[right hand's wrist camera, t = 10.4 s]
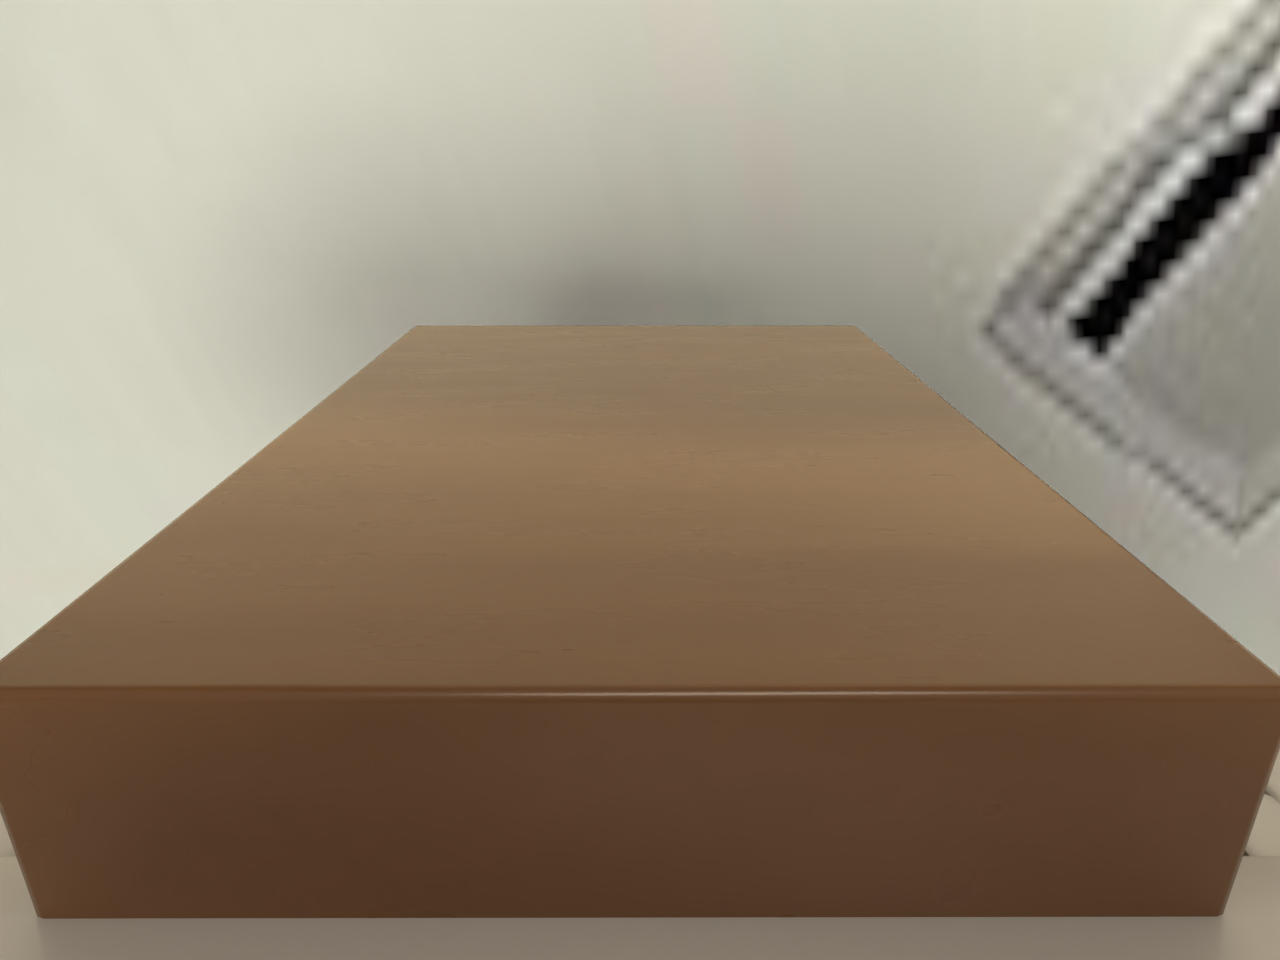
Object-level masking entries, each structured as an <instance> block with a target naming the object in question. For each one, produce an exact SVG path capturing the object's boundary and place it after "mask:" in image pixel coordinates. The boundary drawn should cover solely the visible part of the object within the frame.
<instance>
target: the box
mask: <svg viewBox="0 0 1280 960" xmlns="http://www.w3.org/2000/svg"><path fill="white" fill-rule="evenodd" d="M1279 749H1280V676H1279V675H1278V674H1277V673H1275V672H1274V671H1273V670H1272V669H1270V668H1269V667H1268V666H1267V665H1266V664H1264V663H1263V662H1262V661H1261V660H1260V659H1258V658H1257V657H1256V656H1255V655H1253V654H1252V653H1251V652H1250V651H1249V650H1247V649H1246V648H1245V647H1244V646H1243V645H1241V644H1240V643H1239V642H1238V641H1236V640H1235V639H1234V638H1233V637H1232V636H1230V635H1229V634H1228V633H1227V632H1226V631H1224V630H1223V629H1222V628H1221V627H1219V626H1218V625H1217V624H1216V623H1215V622H1213V621H1212V620H1211V619H1210V618H1209V617H1207V616H1206V615H1205V614H1204V613H1202V612H1201V611H1200V610H1199V609H1198V608H1196V607H1195V606H1194V605H1193V604H1192V603H1190V602H1189V601H1188V600H1187V599H1185V598H1184V597H1183V596H1182V595H1181V594H1179V593H1178V592H1177V591H1176V590H1175V589H1173V588H1172V587H1171V586H1170V585H1168V584H1167V583H1166V582H1165V581H1164V580H1162V579H1161V578H1160V577H1159V576H1158V575H1156V574H1155V573H1154V572H1153V571H1151V570H1150V569H1149V568H1148V567H1147V566H1145V565H1144V564H1143V563H1142V562H1141V561H1139V560H1138V559H1137V558H1136V557H1134V556H1133V555H1132V554H1131V553H1130V552H1128V551H1127V550H1126V549H1125V548H1124V547H1122V546H1121V545H1120V544H1119V543H1117V542H1116V541H1115V540H1114V539H1113V538H1111V537H1110V536H1109V535H1108V534H1107V533H1105V532H1104V531H1103V530H1102V529H1100V528H1099V527H1098V526H1097V525H1096V524H1094V523H1093V522H1092V521H1091V520H1090V519H1088V518H1087V517H1086V516H1085V515H1083V514H1082V513H1081V512H1080V511H1079V510H1077V509H1076V508H1075V507H1074V506H1073V505H1071V504H1070V503H1069V502H1068V501H1066V500H1065V499H1064V498H1063V497H1062V496H1060V495H1059V494H1058V493H1057V492H1056V491H1054V490H1053V489H1052V488H1051V487H1049V486H1048V485H1047V484H1046V483H1045V482H1043V481H1042V480H1041V479H1040V478H1039V477H1037V476H1036V475H1035V474H1034V473H1032V472H1031V471H1030V470H1029V469H1028V468H1026V467H1025V466H1024V465H1023V464H1022V463H1020V462H1019V461H1018V460H1017V459H1015V458H1014V457H1013V456H1012V455H1011V454H1009V453H1008V452H1007V451H1006V450H1005V449H1003V448H1002V447H1001V446H1000V445H998V444H997V443H996V442H995V441H994V440H992V439H991V438H990V437H989V436H988V435H986V434H985V433H984V432H983V431H981V430H980V429H979V428H978V427H977V426H975V425H974V424H973V423H972V422H971V421H969V420H968V419H967V418H966V417H964V416H963V415H962V414H961V413H960V412H958V411H957V410H956V409H955V408H954V407H952V406H951V405H950V404H949V403H947V402H946V401H945V400H944V399H943V398H941V397H940V396H939V395H938V394H937V393H935V392H934V391H933V390H932V389H930V388H929V387H928V386H927V385H926V384H924V383H923V382H922V381H921V380H920V379H918V378H917V377H916V376H915V375H913V374H912V373H911V372H910V371H909V370H907V369H906V368H905V367H904V366H903V365H901V364H900V363H899V362H898V361H896V360H895V359H894V358H893V357H892V356H890V355H889V354H888V353H887V352H886V351H884V350H883V349H882V348H881V347H879V346H878V345H877V344H876V343H875V342H873V341H872V340H871V339H870V338H869V337H867V336H866V335H865V334H864V333H862V332H861V331H860V330H859V329H858V328H856V327H854V326H416V327H414V328H413V329H411V330H410V331H409V332H408V333H407V334H405V335H404V336H403V337H402V338H400V339H399V340H398V341H397V342H395V343H394V344H393V345H392V346H390V347H389V348H388V349H387V350H385V351H384V352H383V353H382V354H380V355H379V356H378V357H377V358H375V359H374V360H373V361H372V362H370V363H369V364H368V365H367V366H365V367H364V368H363V369H362V370H361V371H359V372H358V373H357V374H356V375H354V376H353V377H352V378H351V379H349V380H348V381H347V382H346V383H344V384H343V385H342V386H341V387H339V388H338V389H337V390H336V391H334V392H333V393H332V394H331V395H329V396H328V397H327V398H326V399H324V400H323V401H322V402H321V403H319V404H318V405H317V406H316V407H315V408H313V409H312V410H311V411H310V412H308V413H307V414H306V415H305V416H303V417H302V418H301V419H300V420H298V421H297V422H296V423H295V424H293V425H292V426H291V427H290V428H288V429H287V430H286V431H285V432H283V433H282V434H281V435H280V436H278V437H277V438H276V439H275V440H273V441H272V442H271V443H270V444H268V445H267V446H266V447H265V448H264V449H262V450H261V451H260V452H259V453H257V454H256V455H255V456H254V457H252V458H251V459H250V460H249V461H247V462H246V463H245V464H244V465H242V466H241V467H240V468H239V469H237V470H236V471H235V472H234V473H232V474H231V475H230V476H229V477H227V478H226V479H225V480H224V481H222V482H221V483H220V484H219V485H218V486H216V487H215V488H214V489H213V490H211V491H210V492H209V493H208V494H206V495H205V496H204V497H203V498H201V499H200V500H199V501H198V502H196V503H195V504H194V505H193V506H191V507H190V508H189V509H188V510H186V511H185V512H184V513H183V514H181V515H180V516H179V517H178V518H176V519H175V520H174V521H173V522H172V523H170V524H169V525H168V526H167V527H165V528H164V529H163V530H162V531H160V532H159V533H158V534H157V535H155V536H154V537H153V538H152V539H150V540H149V541H148V542H147V543H145V544H144V545H143V546H142V547H140V548H139V549H138V550H137V551H135V552H134V553H133V554H132V555H130V556H129V557H128V558H127V559H126V560H124V561H123V562H122V563H121V564H119V565H118V566H117V567H116V568H114V569H113V570H112V571H111V572H109V573H108V574H107V575H106V576H104V577H103V578H102V579H101V580H99V581H98V582H97V583H96V584H94V585H93V586H92V587H91V588H89V589H88V590H87V591H86V592H84V593H83V594H82V595H81V596H79V597H78V598H77V599H76V600H75V601H73V602H72V603H71V604H70V605H68V606H67V607H66V608H65V609H63V610H62V611H61V612H60V613H58V614H57V615H56V616H55V617H53V618H52V619H51V620H50V621H48V622H47V623H46V624H45V625H43V626H42V627H41V628H40V629H38V630H37V631H36V632H35V633H33V634H32V635H31V636H30V637H29V638H27V639H26V640H25V641H24V642H22V643H21V644H20V645H19V646H17V647H16V648H15V649H14V650H12V651H11V652H10V653H9V654H7V655H6V656H5V657H4V658H2V659H1V660H0V812H1V815H2V818H3V821H4V824H5V826H6V829H7V832H8V835H9V838H10V841H11V843H12V846H13V849H14V852H15V855H16V858H17V860H18V863H19V866H20V869H21V872H22V874H23V877H24V880H25V883H26V886H27V889H28V891H29V894H30V897H31V900H32V903H33V906H34V908H35V911H36V914H37V916H38V917H41V918H43V919H124V918H695V917H1217V916H1219V915H1222V914H1223V913H1224V910H1225V907H1226V904H1227V901H1228V898H1229V895H1230V892H1231V889H1232V886H1233V884H1234V881H1235V878H1236V875H1237V872H1238V869H1239V866H1240V863H1241V860H1242V857H1243V854H1244V851H1245V849H1246V846H1247V843H1248V840H1249V837H1250V834H1251V831H1252V828H1253V825H1254V822H1255V819H1256V816H1257V814H1258V811H1259V808H1260V805H1261V802H1262V799H1263V796H1264V793H1265V790H1266V787H1267V784H1268V781H1269V778H1270V776H1271V773H1272V770H1273V767H1274V764H1275V761H1276V758H1277V755H1278V752H1279Z"/></svg>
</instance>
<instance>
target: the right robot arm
mask: <svg viewBox="0 0 1280 960" xmlns="http://www.w3.org/2000/svg"><path fill="white" fill-rule="evenodd" d="M0 960H1280V749H1279V752H1278V755H1277V758H1276V761H1275V764H1274V767H1273V770H1272V773H1271V776H1270V778H1269V781H1268V784H1267V787H1266V790H1265V793H1264V796H1263V799H1262V802H1261V805H1260V808H1259V811H1258V814H1257V816H1256V819H1255V822H1254V825H1253V828H1252V831H1251V834H1250V837H1249V840H1248V843H1247V846H1246V849H1245V851H1244V854H1243V857H1242V860H1241V863H1240V866H1239V869H1238V872H1237V875H1236V878H1235V881H1234V884H1233V886H1232V889H1231V892H1230V895H1229V898H1228V901H1227V904H1226V907H1225V910H1224V913H1223V914H1222V915H1219V916H1217V917H695V918H124V919H43V918H41V917H38V916H37V914H36V911H35V908H34V906H33V903H32V900H31V897H30V894H29V891H28V889H27V886H26V883H25V880H24V877H23V874H22V872H21V869H20V866H19V863H18V860H17V858H16V855H15V852H14V849H13V846H12V843H11V841H10V838H9V835H8V832H7V829H6V826H5V824H4V821H3V818H2V815H1V812H0Z"/></svg>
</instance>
